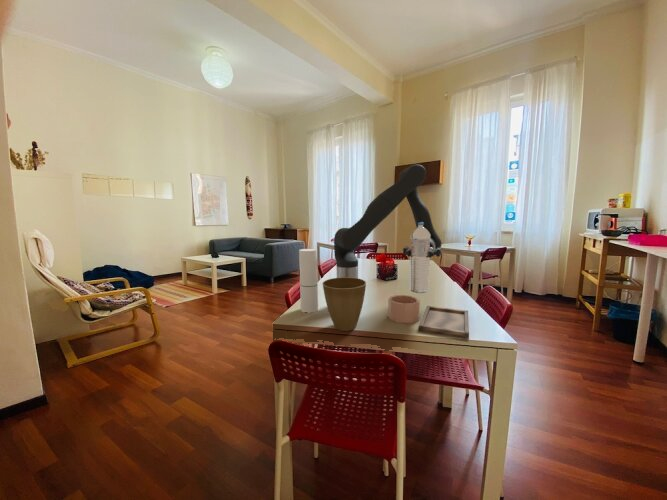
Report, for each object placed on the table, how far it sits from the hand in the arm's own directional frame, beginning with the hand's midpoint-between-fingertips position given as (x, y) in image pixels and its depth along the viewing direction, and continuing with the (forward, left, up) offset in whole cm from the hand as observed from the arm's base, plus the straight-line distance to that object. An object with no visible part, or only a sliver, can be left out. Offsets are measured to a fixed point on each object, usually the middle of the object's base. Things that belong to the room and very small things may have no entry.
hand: (419, 254), depth 97 cm
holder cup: (-5, +1, -25) cm, 25 cm away
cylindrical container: (-42, -6, -25) cm, 49 cm away
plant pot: (-22, -15, -25) cm, 37 cm away
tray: (+9, +3, -25) cm, 26 cm away
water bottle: (0, +2, -14) cm, 14 cm away
